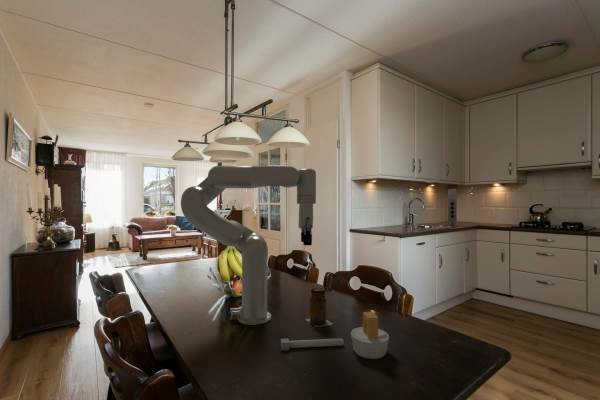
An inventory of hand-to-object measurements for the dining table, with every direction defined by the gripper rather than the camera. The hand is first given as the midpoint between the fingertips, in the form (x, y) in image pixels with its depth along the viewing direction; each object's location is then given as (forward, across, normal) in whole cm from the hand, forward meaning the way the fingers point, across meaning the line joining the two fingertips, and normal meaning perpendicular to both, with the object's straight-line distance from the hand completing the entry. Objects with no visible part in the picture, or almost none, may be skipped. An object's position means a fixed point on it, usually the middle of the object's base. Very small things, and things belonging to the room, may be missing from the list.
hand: (306, 243), depth 119 cm
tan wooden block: (+23, +30, +16) cm, 41 cm away
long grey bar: (+28, +26, 0) cm, 38 cm away
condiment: (+29, +7, +4) cm, 30 cm away
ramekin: (+29, +30, +16) cm, 45 cm away
